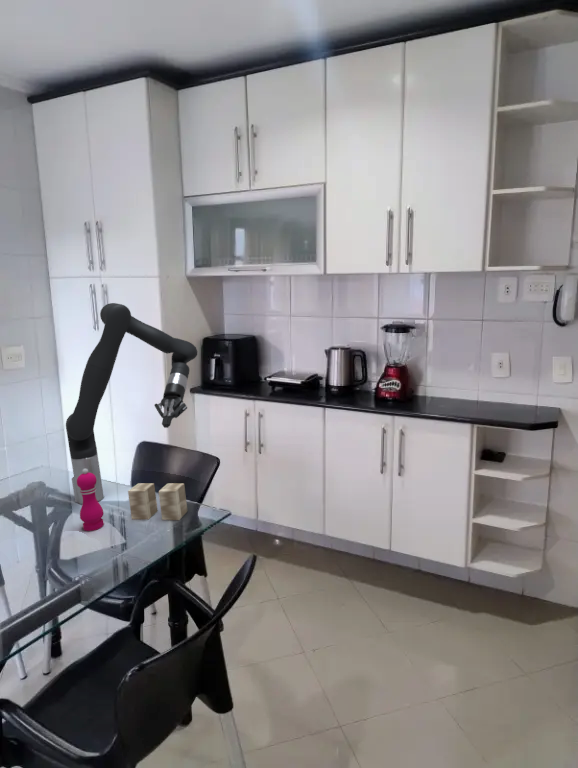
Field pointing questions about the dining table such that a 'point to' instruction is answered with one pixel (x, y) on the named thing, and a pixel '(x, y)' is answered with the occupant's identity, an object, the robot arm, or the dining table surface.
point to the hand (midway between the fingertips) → (165, 426)
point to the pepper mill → (89, 502)
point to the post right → (173, 501)
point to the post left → (142, 501)
